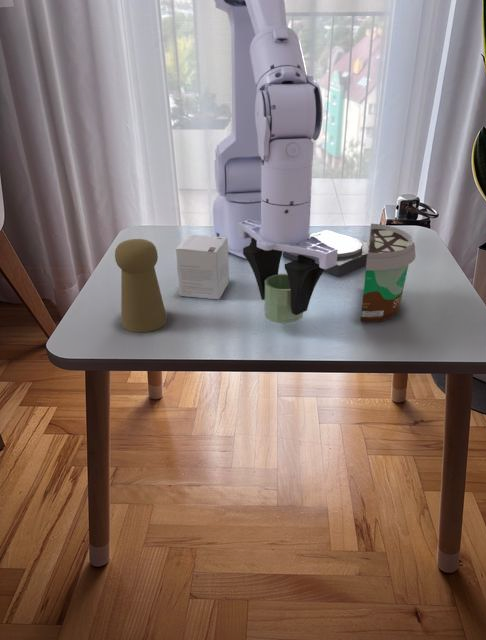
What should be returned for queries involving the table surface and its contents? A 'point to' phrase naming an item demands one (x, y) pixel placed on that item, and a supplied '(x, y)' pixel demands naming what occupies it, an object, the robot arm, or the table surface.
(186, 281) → the product carton
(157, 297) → the olive yellow pawn
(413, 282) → the table surface
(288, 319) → the green cup
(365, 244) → the kitchen scale
